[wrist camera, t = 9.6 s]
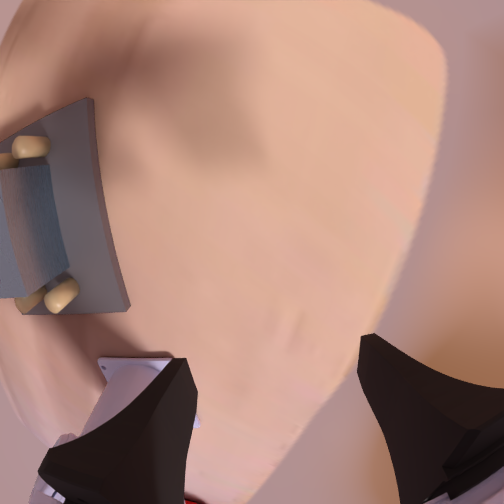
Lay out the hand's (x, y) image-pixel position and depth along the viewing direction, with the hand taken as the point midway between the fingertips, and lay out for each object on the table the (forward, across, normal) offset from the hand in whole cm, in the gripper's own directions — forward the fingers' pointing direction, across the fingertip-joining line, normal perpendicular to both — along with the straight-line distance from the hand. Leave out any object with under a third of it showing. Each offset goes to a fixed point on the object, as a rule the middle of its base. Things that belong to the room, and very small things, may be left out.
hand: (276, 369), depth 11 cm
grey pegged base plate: (+9, +17, -7) cm, 21 cm away
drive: (+8, +17, -7) cm, 20 cm away
